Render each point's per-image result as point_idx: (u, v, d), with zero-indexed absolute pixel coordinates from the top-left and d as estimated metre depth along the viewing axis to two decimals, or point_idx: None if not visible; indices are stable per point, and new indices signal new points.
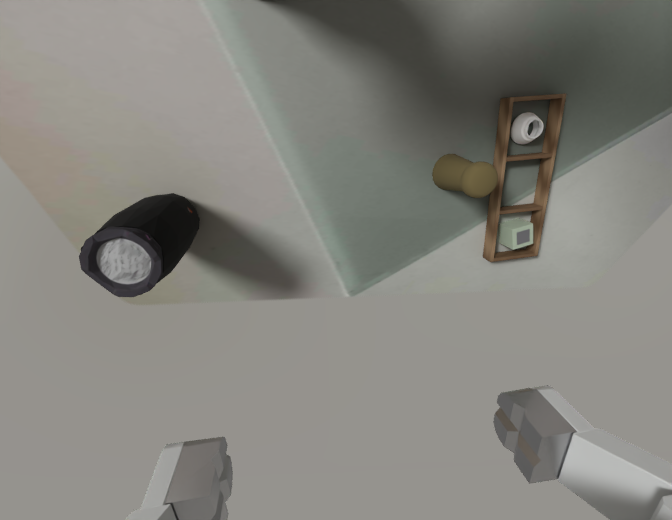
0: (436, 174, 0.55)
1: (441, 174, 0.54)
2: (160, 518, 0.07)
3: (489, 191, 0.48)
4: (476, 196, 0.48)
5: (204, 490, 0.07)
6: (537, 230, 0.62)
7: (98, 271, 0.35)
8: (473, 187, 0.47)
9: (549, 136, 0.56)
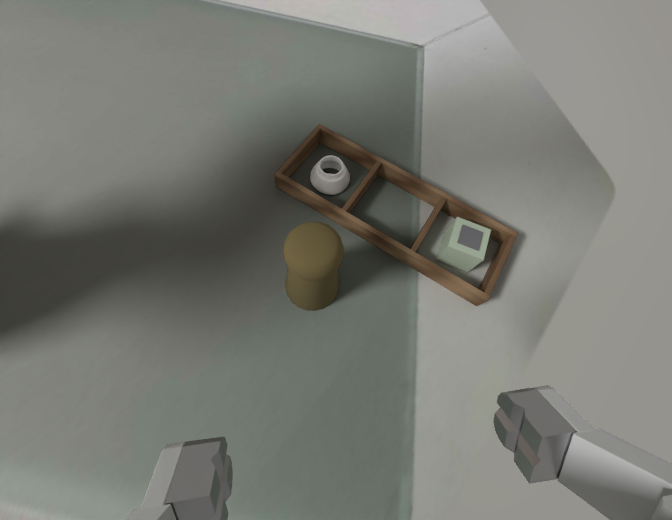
0: (297, 301, 0.35)
1: (296, 295, 0.34)
2: (160, 518, 0.07)
3: (335, 244, 0.27)
4: (330, 266, 0.27)
5: (204, 490, 0.07)
6: (475, 216, 0.40)
7: None
8: (309, 263, 0.26)
9: (357, 157, 0.43)
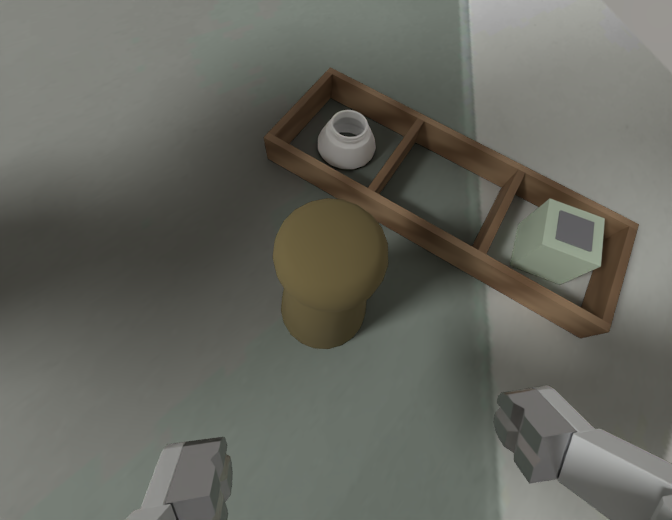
0: (300, 336, 0.21)
1: (298, 327, 0.20)
2: (160, 518, 0.07)
3: (375, 240, 0.14)
4: (366, 285, 0.13)
5: (204, 490, 0.07)
6: (570, 199, 0.26)
7: None
8: (325, 279, 0.13)
9: (386, 116, 0.29)
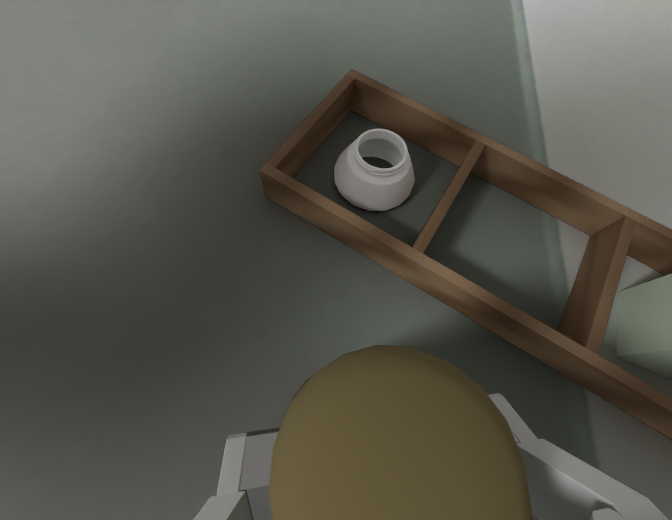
0: None
1: None
2: (237, 504, 0.07)
3: (512, 484, 0.06)
4: None
5: None
6: None
7: None
8: None
9: (429, 136, 0.21)
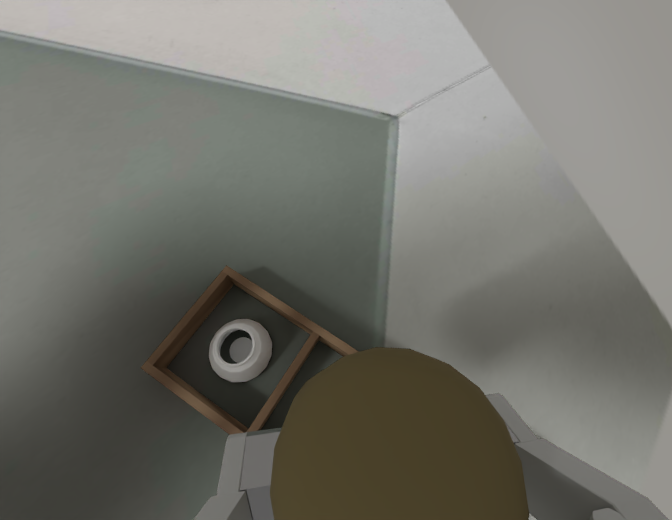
0: None
1: None
2: (238, 504, 0.07)
3: (509, 485, 0.06)
4: None
5: None
6: None
7: None
8: None
9: (286, 316, 0.28)
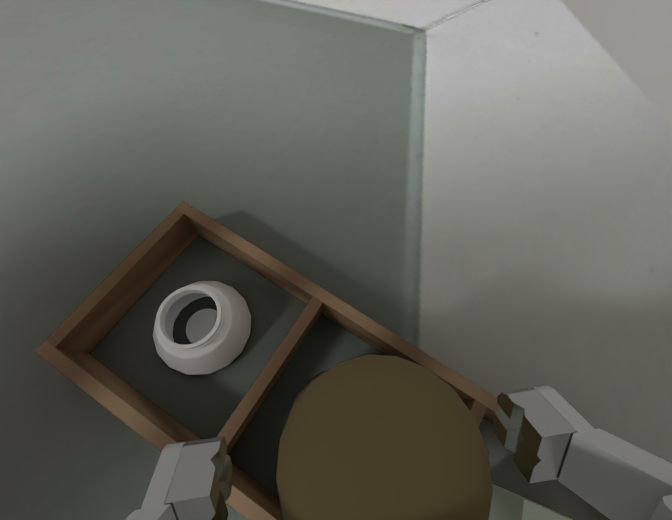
0: None
1: None
2: (160, 518, 0.07)
3: (475, 470, 0.07)
4: None
5: (204, 490, 0.07)
6: None
7: None
8: None
9: (273, 277, 0.19)
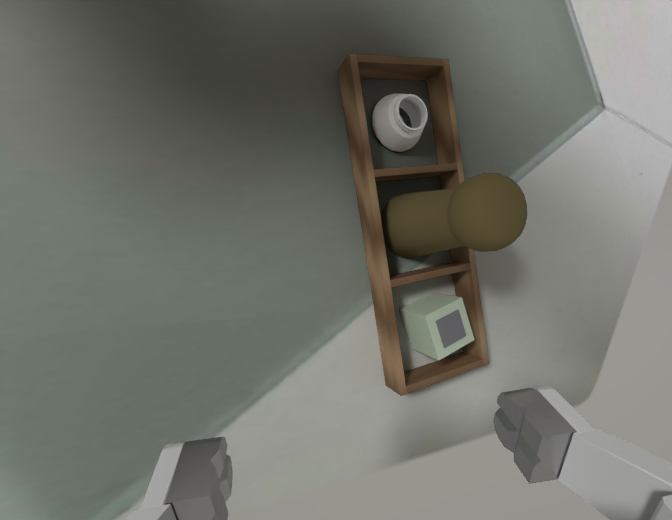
0: (388, 228, 0.29)
1: (399, 223, 0.27)
2: (160, 518, 0.07)
3: (519, 230, 0.21)
4: (494, 245, 0.21)
5: (204, 490, 0.07)
6: (474, 311, 0.31)
7: None
8: (487, 223, 0.20)
9: (442, 138, 0.31)
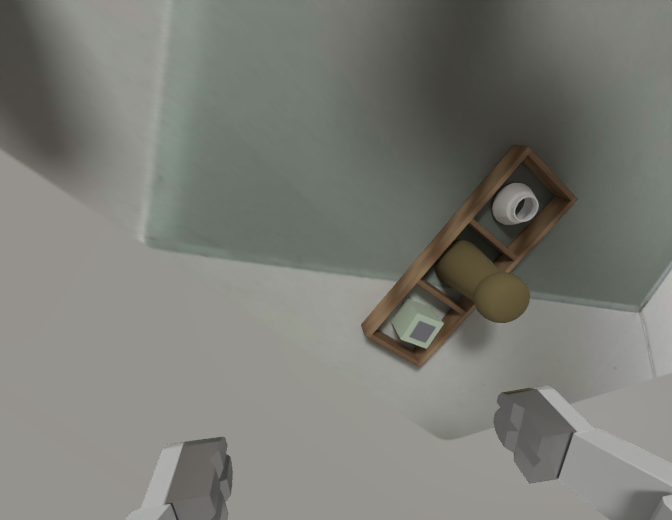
0: (446, 254, 0.40)
1: (454, 257, 0.39)
2: (160, 518, 0.07)
3: (505, 320, 0.33)
4: (487, 315, 0.33)
5: (204, 490, 0.07)
6: (441, 337, 0.43)
7: None
8: (495, 302, 0.32)
9: (526, 236, 0.41)
